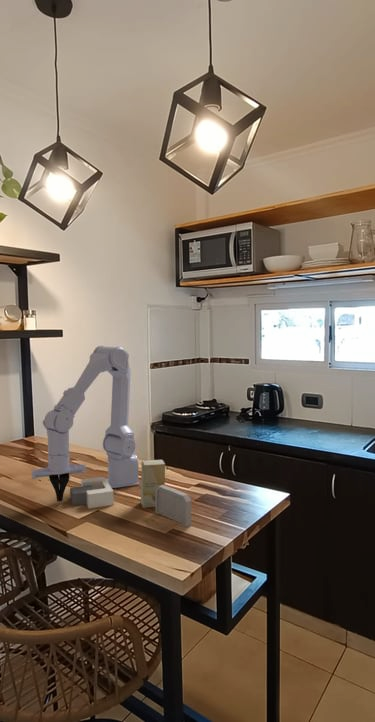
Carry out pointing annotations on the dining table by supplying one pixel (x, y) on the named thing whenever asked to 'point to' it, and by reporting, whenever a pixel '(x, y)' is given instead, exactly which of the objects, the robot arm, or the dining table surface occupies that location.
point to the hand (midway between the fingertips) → (59, 500)
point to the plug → (79, 494)
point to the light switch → (173, 504)
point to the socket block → (98, 492)
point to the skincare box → (151, 480)
